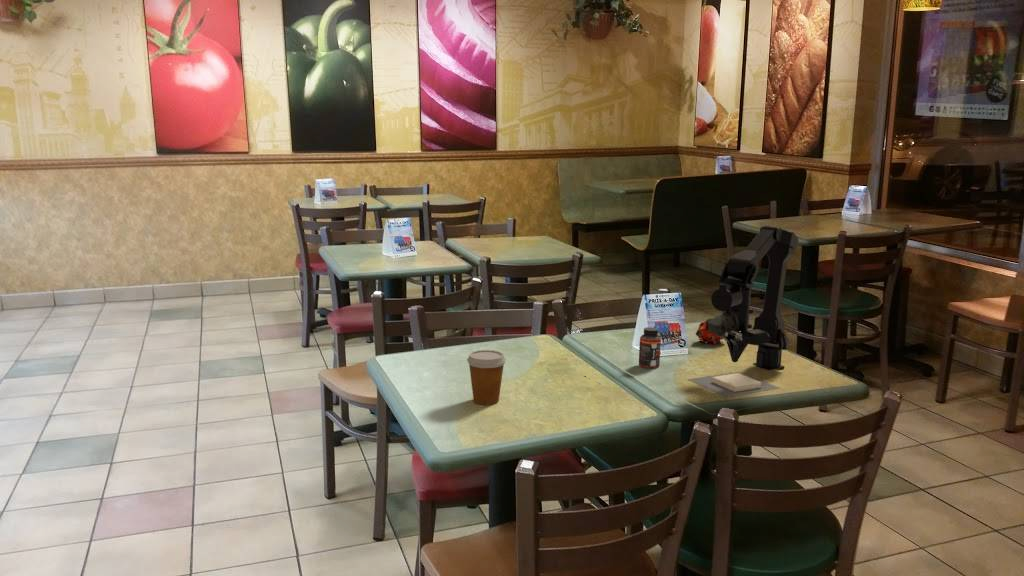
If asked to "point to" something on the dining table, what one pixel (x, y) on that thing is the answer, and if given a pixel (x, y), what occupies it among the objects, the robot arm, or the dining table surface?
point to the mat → (726, 392)
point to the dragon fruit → (707, 334)
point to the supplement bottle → (649, 348)
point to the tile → (736, 382)
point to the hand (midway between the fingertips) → (734, 361)
